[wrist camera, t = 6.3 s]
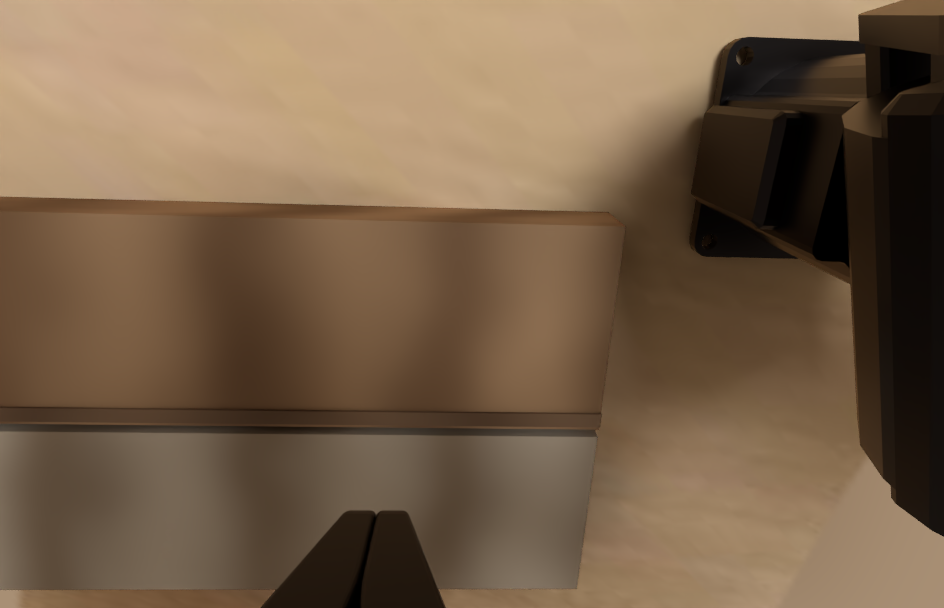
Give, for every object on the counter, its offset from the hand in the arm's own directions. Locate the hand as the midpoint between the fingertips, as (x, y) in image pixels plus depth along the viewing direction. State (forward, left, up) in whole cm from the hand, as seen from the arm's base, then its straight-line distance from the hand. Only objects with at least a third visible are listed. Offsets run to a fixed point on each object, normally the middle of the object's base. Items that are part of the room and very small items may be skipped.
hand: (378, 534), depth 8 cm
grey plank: (+5, +9, -12) cm, 16 cm away
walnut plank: (+5, +1, -12) cm, 13 cm away
